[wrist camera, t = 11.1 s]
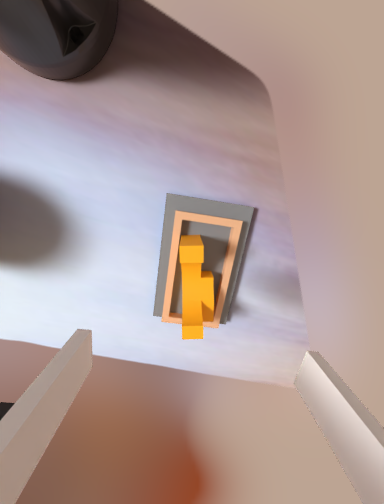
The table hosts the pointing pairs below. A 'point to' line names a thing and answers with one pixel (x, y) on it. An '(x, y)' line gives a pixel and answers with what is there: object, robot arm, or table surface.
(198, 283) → the pipe clamp
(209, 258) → the holder board
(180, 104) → the table surface
